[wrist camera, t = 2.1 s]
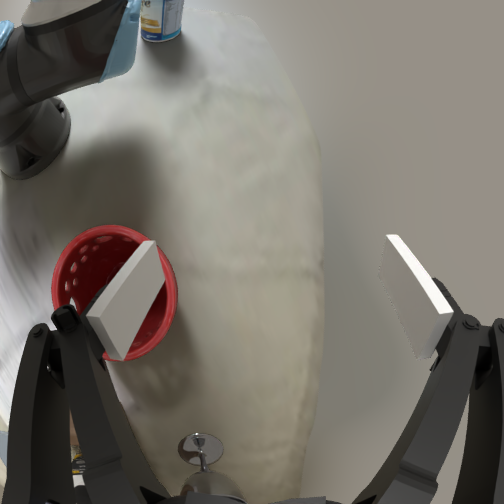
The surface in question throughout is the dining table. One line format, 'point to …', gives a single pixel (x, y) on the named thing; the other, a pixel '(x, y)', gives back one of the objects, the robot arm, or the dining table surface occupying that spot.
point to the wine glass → (206, 481)
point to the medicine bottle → (80, 480)
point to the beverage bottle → (161, 19)
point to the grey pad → (3, 446)
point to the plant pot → (104, 270)
